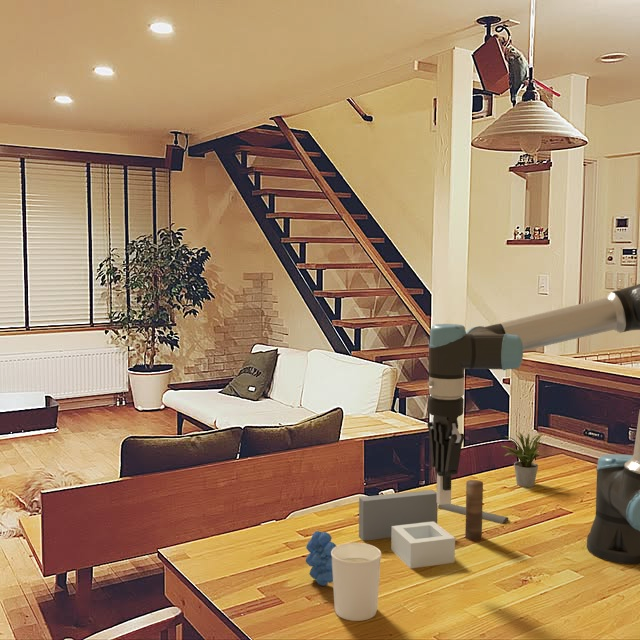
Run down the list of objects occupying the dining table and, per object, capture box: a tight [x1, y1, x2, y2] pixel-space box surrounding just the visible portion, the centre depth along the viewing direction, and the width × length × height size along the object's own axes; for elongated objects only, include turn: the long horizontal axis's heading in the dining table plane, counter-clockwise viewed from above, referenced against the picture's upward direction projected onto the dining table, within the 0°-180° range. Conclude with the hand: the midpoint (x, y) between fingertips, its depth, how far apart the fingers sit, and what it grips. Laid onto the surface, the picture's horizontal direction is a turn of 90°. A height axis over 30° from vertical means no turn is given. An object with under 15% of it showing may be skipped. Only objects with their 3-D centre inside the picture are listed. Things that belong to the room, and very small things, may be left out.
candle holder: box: [331, 542, 382, 622], centre depth 146 cm, size 10×10×12 cm
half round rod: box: [438, 503, 509, 525], centre depth 201 cm, size 4×20×2 cm, turn 52°
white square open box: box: [390, 521, 456, 569], centre depth 173 cm, size 11×11×6 cm
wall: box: [358, 489, 439, 542], centre depth 186 cm, size 3×20×10 cm, turn 107°
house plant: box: [500, 431, 546, 488], centre depth 227 cm, size 14×14×16 cm
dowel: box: [464, 479, 484, 542], centre depth 183 cm, size 4×4×14 cm
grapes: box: [305, 530, 337, 587], centre depth 157 cm, size 12×7×12 cm, turn 30°
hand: (443, 502), depth 161 cm, fingers closed
